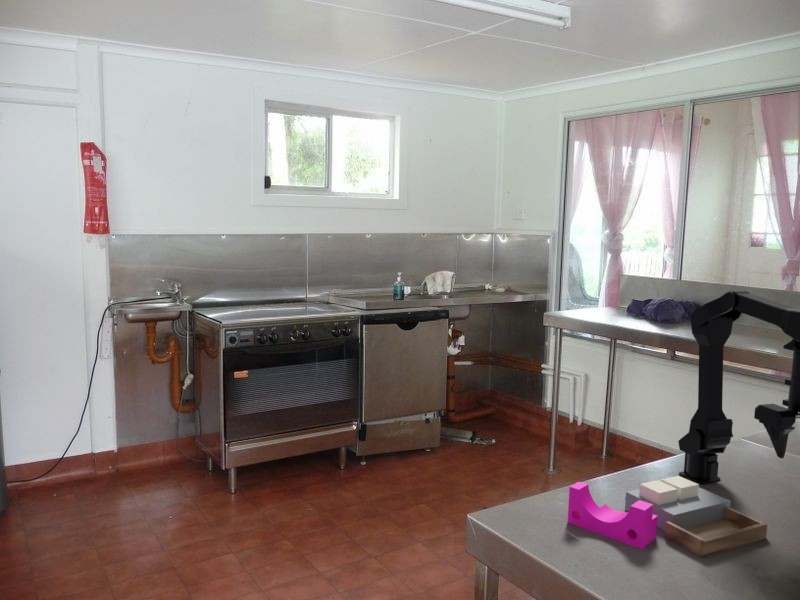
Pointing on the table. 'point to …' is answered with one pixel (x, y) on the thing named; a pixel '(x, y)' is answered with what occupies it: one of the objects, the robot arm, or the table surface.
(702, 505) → the board
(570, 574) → the table surface
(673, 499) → the tile
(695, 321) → the robot arm
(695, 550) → the box
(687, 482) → the tile
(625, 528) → the toy block
